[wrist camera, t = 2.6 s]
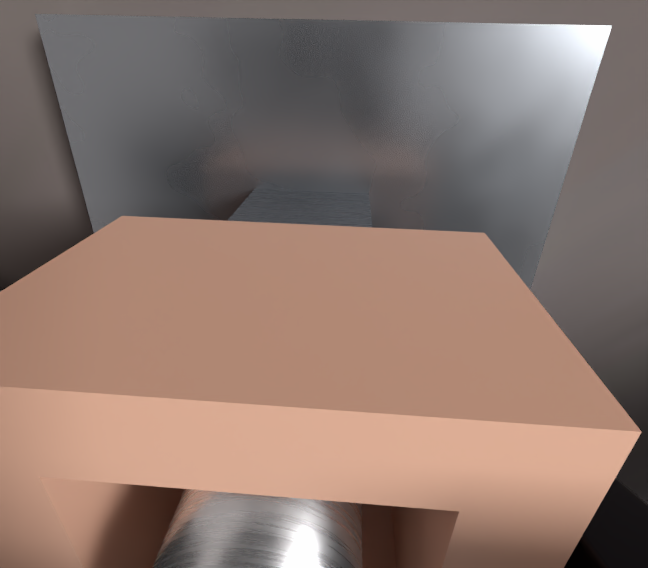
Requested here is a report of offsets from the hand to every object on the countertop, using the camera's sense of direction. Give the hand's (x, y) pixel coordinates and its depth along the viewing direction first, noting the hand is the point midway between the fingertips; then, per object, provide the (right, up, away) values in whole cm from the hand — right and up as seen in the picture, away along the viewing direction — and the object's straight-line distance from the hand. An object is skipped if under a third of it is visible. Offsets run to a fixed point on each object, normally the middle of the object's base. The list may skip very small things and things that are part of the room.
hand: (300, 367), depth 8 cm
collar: (0, 0, 0) cm, 0 cm away
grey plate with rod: (0, +1, +3) cm, 3 cm away
